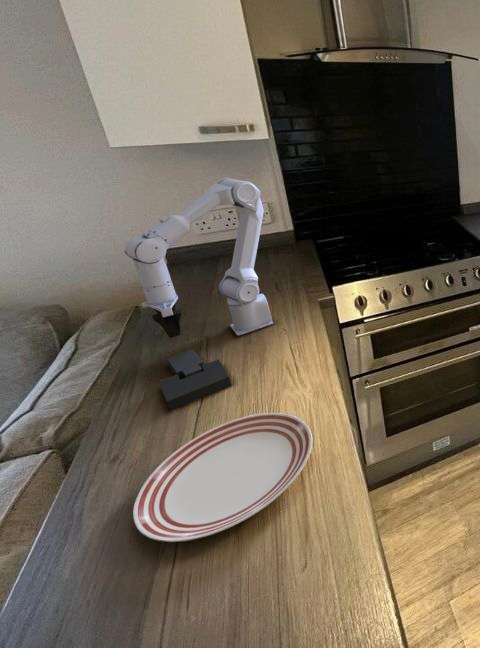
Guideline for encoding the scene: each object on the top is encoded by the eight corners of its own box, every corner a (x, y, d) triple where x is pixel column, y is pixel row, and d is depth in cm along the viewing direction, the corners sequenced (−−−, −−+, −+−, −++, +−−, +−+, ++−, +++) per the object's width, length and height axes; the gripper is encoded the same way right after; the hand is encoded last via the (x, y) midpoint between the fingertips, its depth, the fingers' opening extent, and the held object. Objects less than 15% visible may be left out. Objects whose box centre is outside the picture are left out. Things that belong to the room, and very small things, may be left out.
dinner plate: (120, 589, 64) (113, 574, 63) (152, 459, 86) (147, 446, 84) (324, 499, 78) (321, 486, 76) (307, 407, 99) (304, 395, 98)
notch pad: (221, 367, 113) (218, 359, 112) (231, 384, 106) (229, 376, 105) (161, 389, 104) (158, 381, 104) (169, 410, 98) (166, 401, 97)
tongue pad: (194, 357, 117) (192, 348, 116) (209, 375, 110) (206, 366, 109) (169, 366, 113) (166, 358, 112) (183, 386, 106) (179, 377, 105)
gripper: (133, 278, 111) (150, 324, 116) (138, 298, 101) (156, 348, 106) (168, 270, 115) (183, 315, 120) (176, 288, 106) (192, 336, 111)
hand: (173, 330), depth 113 cm, fingers open, 7 cm apart
